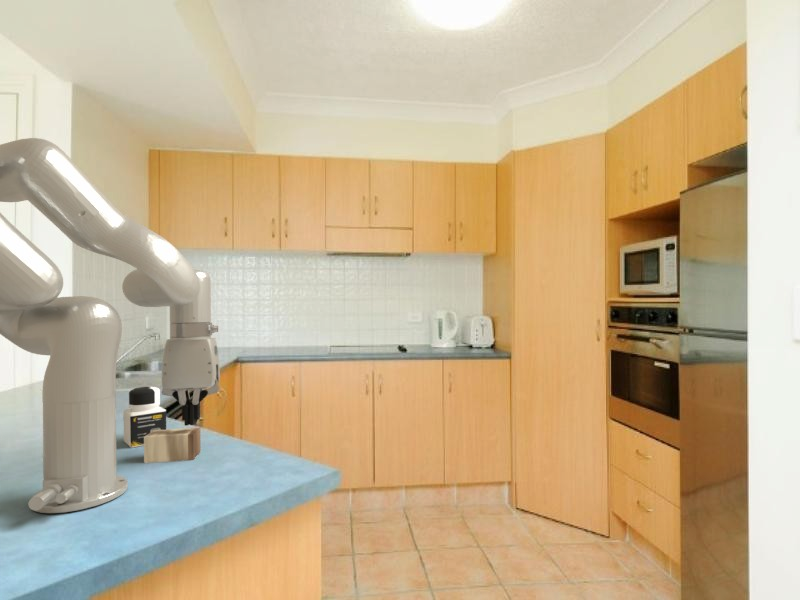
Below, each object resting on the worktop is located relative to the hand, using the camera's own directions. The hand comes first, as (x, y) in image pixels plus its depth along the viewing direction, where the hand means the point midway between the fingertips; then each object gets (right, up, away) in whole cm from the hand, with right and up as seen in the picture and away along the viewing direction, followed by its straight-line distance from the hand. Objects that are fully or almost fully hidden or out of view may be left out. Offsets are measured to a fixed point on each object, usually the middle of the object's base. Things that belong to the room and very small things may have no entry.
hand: (191, 423), depth 93 cm
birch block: (+1, -4, 0) cm, 4 cm away
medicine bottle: (-15, -7, +11) cm, 20 cm away
